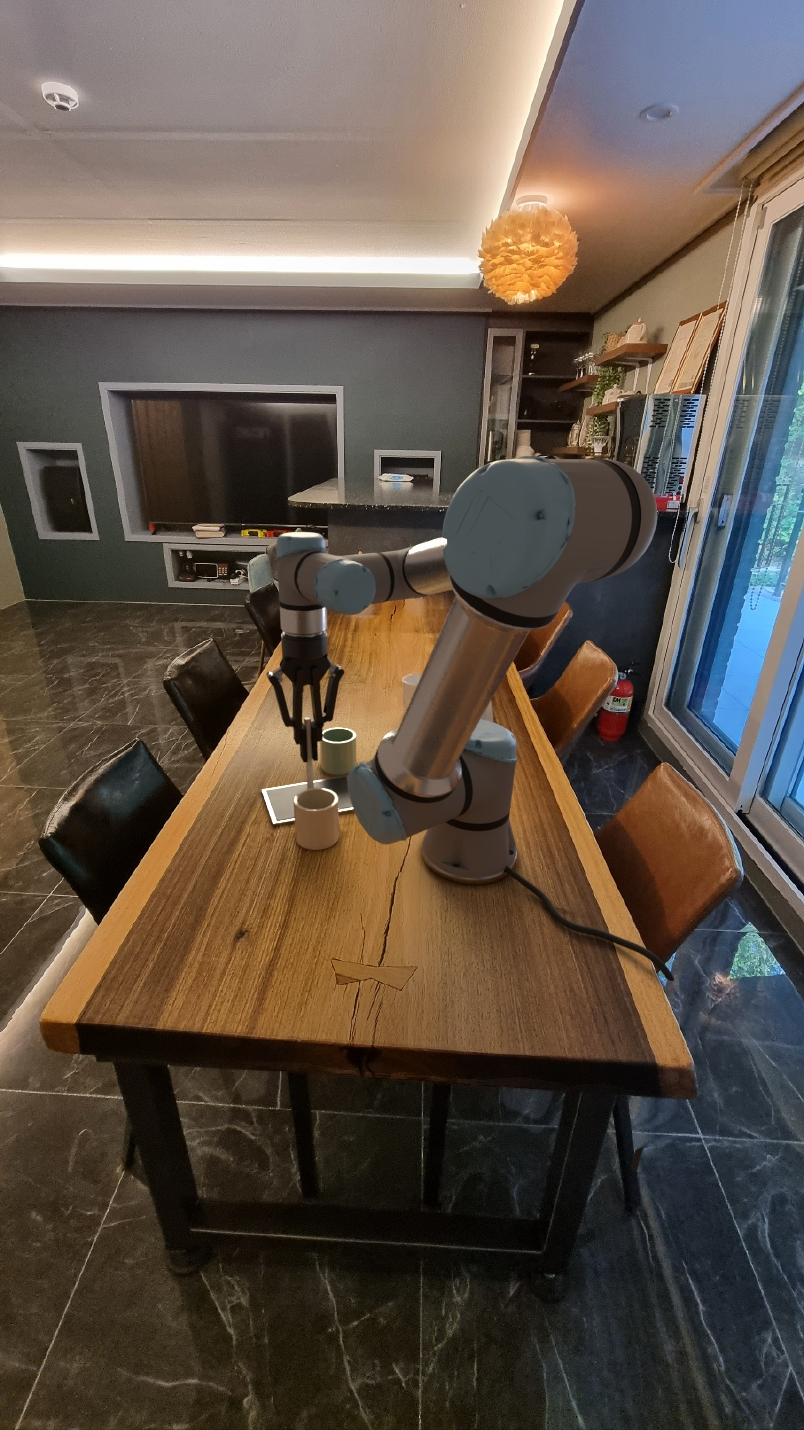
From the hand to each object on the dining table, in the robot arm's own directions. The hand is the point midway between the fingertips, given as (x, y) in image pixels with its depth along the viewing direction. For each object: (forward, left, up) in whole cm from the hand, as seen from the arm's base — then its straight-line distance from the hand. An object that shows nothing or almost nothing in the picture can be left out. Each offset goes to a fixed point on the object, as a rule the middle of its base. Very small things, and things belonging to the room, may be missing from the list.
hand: (309, 757), depth 110 cm
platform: (+31, -48, -9) cm, 58 cm away
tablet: (0, 0, -9) cm, 9 cm away
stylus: (0, 0, -8) cm, 8 cm away
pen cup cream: (-11, +2, -9) cm, 15 cm away
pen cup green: (+11, -8, -9) cm, 17 cm away
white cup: (+29, -33, -9) cm, 45 cm away
